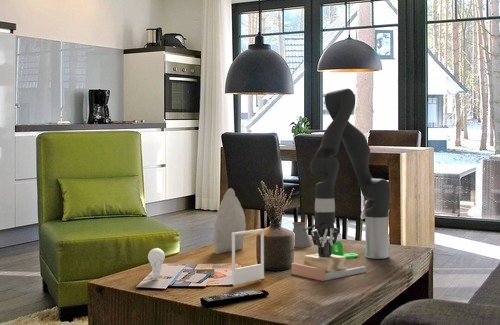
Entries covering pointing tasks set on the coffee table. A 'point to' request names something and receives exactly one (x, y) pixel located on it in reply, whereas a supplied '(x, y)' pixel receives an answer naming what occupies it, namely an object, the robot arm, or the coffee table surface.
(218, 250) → the rock
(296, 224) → the coffee pot
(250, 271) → the photo frame
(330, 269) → the light wooden block
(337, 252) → the mechanical part
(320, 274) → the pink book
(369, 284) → the coffee table surface
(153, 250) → the lightbulb
